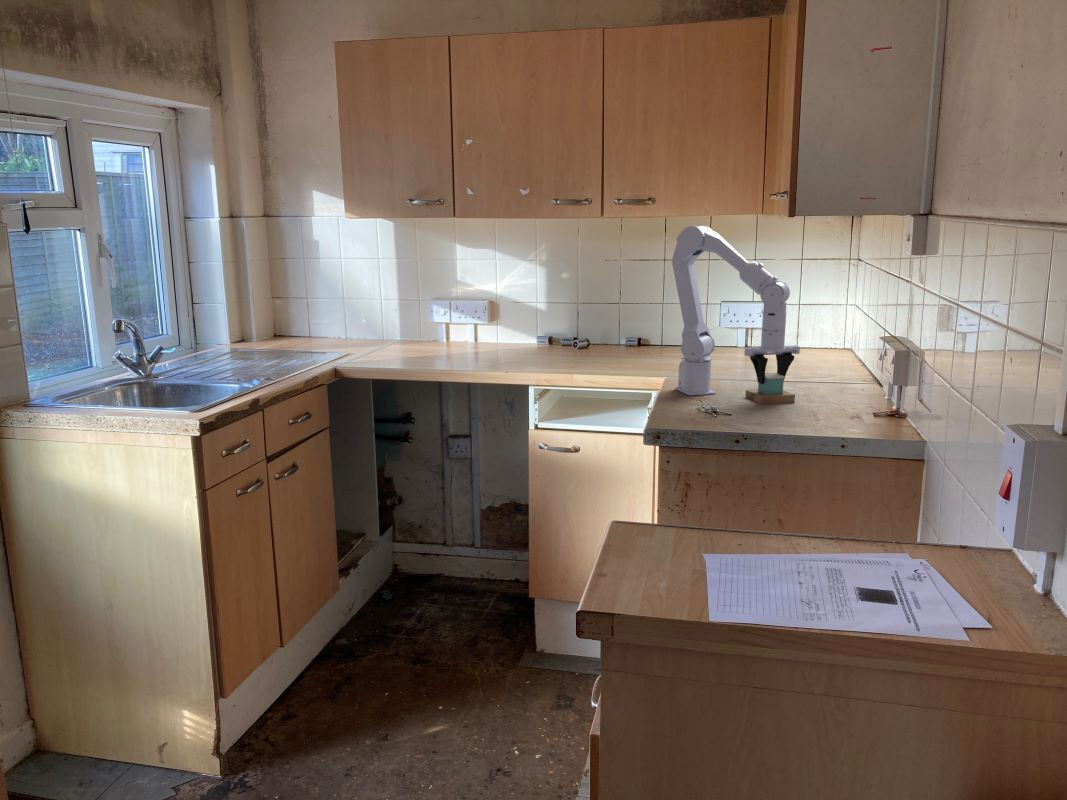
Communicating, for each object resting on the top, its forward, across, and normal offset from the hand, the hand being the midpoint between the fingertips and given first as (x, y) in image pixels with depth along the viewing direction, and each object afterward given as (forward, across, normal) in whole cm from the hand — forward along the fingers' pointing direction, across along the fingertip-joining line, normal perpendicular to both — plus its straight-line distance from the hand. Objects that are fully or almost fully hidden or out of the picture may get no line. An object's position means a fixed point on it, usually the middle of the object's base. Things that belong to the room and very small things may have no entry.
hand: (770, 382), depth 213 cm
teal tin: (+2, 0, 0) cm, 3 cm away
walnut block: (+5, 0, 0) cm, 5 cm away
